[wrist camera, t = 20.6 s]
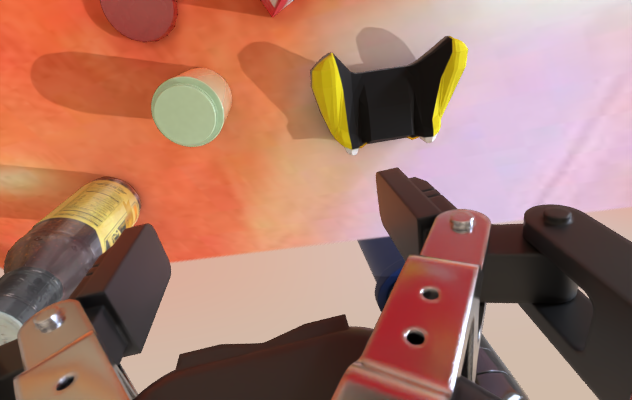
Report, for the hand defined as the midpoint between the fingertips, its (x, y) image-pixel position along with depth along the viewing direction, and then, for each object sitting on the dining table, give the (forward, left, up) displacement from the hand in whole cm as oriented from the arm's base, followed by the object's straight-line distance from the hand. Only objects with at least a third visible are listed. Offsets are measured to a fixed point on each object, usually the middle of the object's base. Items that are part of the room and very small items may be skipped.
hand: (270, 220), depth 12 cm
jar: (+3, +6, -26) cm, 27 cm away
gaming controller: (-5, -11, -26) cm, 29 cm away
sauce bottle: (-2, +20, -26) cm, 33 cm away
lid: (+12, +6, -25) cm, 28 cm away
